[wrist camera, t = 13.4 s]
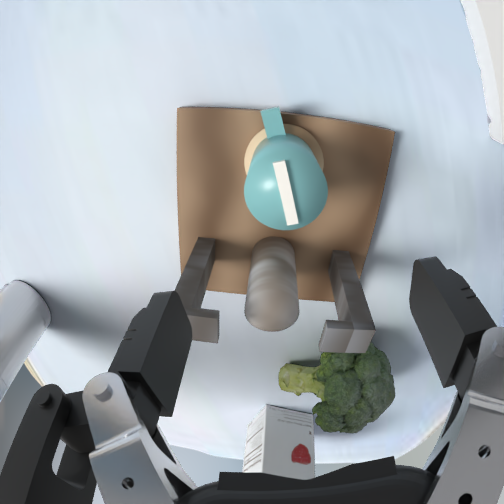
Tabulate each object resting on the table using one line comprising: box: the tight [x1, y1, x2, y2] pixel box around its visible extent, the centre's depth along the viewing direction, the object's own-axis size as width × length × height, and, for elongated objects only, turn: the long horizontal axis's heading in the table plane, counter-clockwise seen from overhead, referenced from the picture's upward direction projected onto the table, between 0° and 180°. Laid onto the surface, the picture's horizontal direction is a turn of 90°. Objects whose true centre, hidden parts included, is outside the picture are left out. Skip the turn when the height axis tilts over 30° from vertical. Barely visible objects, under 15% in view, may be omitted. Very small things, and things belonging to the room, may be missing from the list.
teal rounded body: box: [244, 106, 328, 230], centre depth 21 cm, size 9×5×7 cm, turn 14°
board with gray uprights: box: [175, 107, 395, 353], centre depth 23 cm, size 18×18×12 cm
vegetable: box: [279, 342, 395, 433], centre depth 34 cm, size 12×13×15 cm
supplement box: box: [242, 405, 315, 480], centre depth 42 cm, size 9×9×15 cm
